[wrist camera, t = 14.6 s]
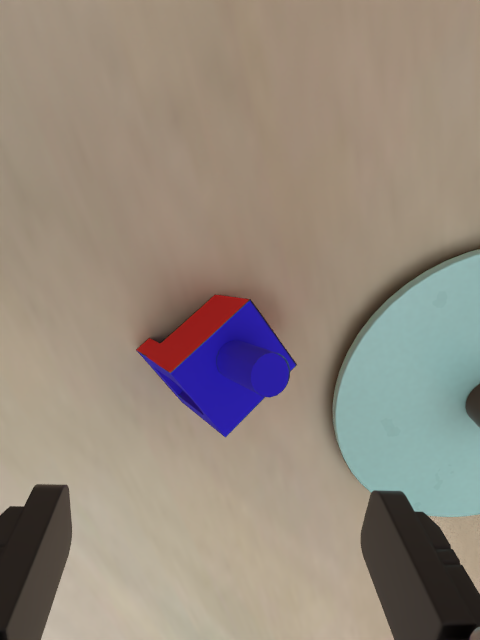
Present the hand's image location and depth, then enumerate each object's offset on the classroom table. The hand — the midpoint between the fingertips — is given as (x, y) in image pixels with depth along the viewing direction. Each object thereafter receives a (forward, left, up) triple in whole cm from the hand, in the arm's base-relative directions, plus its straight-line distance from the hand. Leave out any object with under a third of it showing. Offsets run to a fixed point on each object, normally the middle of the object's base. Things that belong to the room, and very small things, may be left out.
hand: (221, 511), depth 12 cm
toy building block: (0, 0, -11) cm, 11 cm away
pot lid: (+2, +14, -10) cm, 17 cm away
